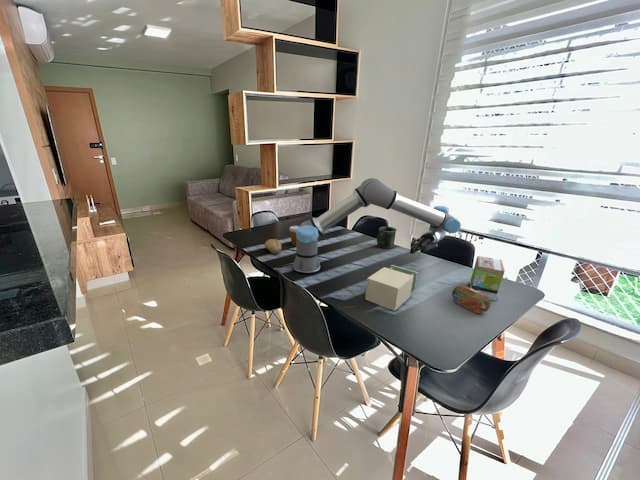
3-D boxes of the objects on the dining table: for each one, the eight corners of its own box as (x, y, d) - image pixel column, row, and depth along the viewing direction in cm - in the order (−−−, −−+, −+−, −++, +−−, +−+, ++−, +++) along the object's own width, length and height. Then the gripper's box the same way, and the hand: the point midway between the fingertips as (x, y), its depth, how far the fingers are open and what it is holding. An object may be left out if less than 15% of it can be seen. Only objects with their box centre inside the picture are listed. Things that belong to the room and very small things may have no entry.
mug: (397, 247, 190) (400, 229, 186) (382, 251, 184) (384, 233, 179) (384, 242, 199) (386, 225, 195) (369, 246, 192) (371, 229, 188)
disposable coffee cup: (302, 246, 194) (302, 229, 189) (288, 246, 196) (288, 229, 191) (303, 242, 202) (304, 225, 198) (290, 241, 204) (290, 225, 200)
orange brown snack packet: (450, 299, 128) (454, 283, 125) (454, 298, 129) (459, 281, 126) (483, 317, 115) (489, 299, 112) (488, 315, 117) (494, 297, 113)
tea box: (496, 301, 126) (505, 271, 121) (469, 295, 131) (476, 266, 126) (494, 287, 138) (502, 258, 133) (469, 282, 143) (476, 254, 138)
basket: (393, 277, 147) (395, 262, 144) (418, 285, 139) (421, 269, 135) (375, 291, 135) (377, 274, 131) (402, 301, 126) (405, 283, 123)
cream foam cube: (381, 287, 140) (384, 267, 136) (409, 297, 131) (413, 275, 127) (365, 299, 130) (367, 278, 126) (394, 311, 121) (398, 288, 117)
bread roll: (274, 246, 196) (274, 235, 193) (285, 253, 183) (285, 241, 180) (261, 248, 191) (261, 237, 188) (271, 256, 179) (271, 244, 176)
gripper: (441, 248, 150) (424, 261, 135) (416, 242, 159) (397, 254, 143) (444, 234, 147) (427, 246, 132) (418, 229, 156) (399, 240, 141)
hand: (411, 251), depth 138 cm, fingers closed
